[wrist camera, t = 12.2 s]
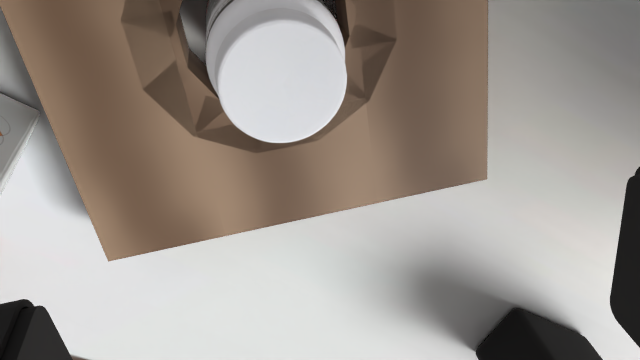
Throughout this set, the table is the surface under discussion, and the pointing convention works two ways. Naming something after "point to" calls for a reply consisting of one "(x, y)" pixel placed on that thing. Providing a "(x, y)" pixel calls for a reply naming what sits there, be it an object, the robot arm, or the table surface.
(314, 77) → the pill bottle
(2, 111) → the small box
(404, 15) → the socket block
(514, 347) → the battery
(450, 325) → the table surface
